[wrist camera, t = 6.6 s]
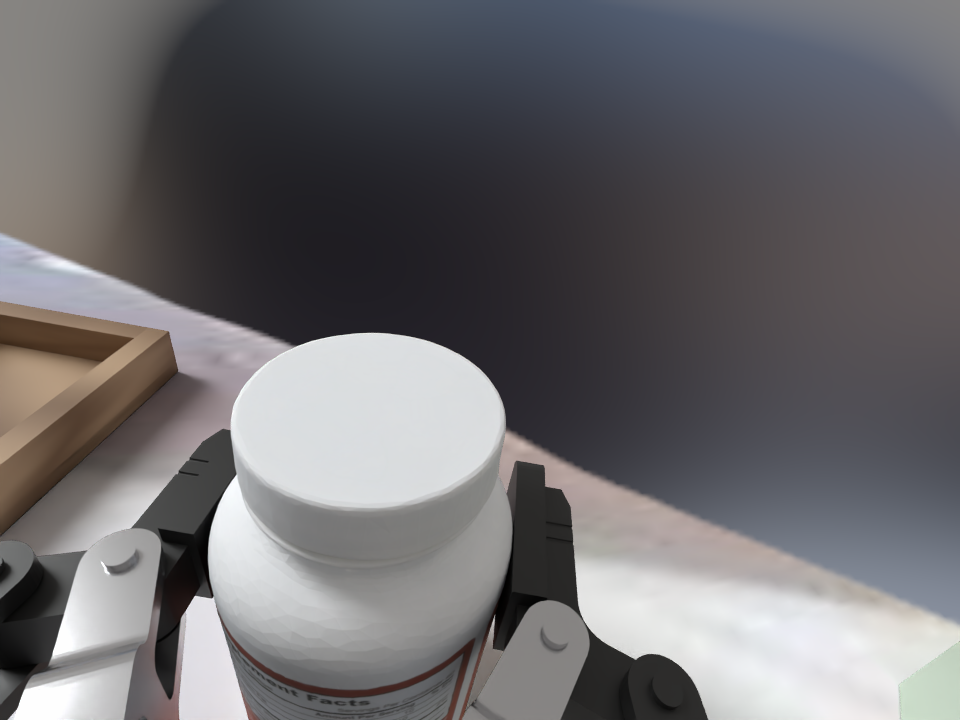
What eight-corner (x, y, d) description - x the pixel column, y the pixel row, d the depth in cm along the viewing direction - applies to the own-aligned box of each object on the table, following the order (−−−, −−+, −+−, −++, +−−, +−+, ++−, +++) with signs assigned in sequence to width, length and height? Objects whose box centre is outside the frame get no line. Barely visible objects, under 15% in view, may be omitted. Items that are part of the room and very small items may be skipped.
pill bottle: (364, 554, 18) (374, 286, 12) (503, 662, 16) (602, 396, 10) (204, 706, 14) (87, 400, 7) (364, 893, 11) (385, 664, 5)
